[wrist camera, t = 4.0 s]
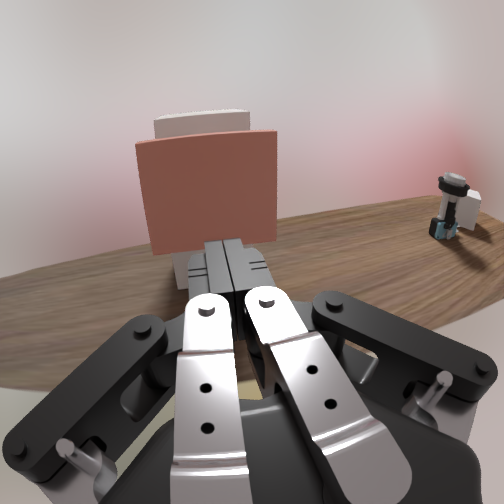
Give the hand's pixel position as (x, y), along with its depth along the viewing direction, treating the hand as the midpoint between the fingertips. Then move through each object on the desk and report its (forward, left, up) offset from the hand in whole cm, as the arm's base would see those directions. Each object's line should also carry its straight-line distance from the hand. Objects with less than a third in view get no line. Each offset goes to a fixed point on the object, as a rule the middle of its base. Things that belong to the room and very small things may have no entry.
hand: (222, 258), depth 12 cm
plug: (+7, +9, -4) cm, 12 cm away
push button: (+40, -7, -12) cm, 42 cm away
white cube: (+50, -9, -12) cm, 52 cm away
